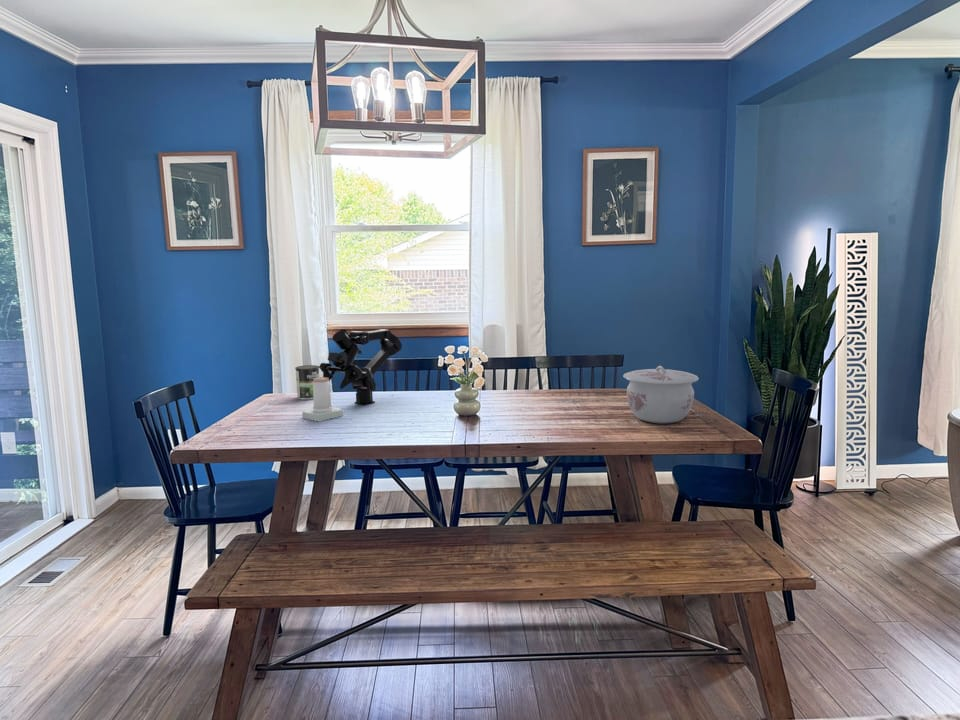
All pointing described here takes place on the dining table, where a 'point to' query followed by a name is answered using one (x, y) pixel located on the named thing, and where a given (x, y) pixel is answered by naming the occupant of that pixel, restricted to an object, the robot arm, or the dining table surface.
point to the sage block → (322, 414)
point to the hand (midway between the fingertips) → (331, 387)
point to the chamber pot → (660, 394)
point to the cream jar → (321, 395)
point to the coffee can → (306, 381)
